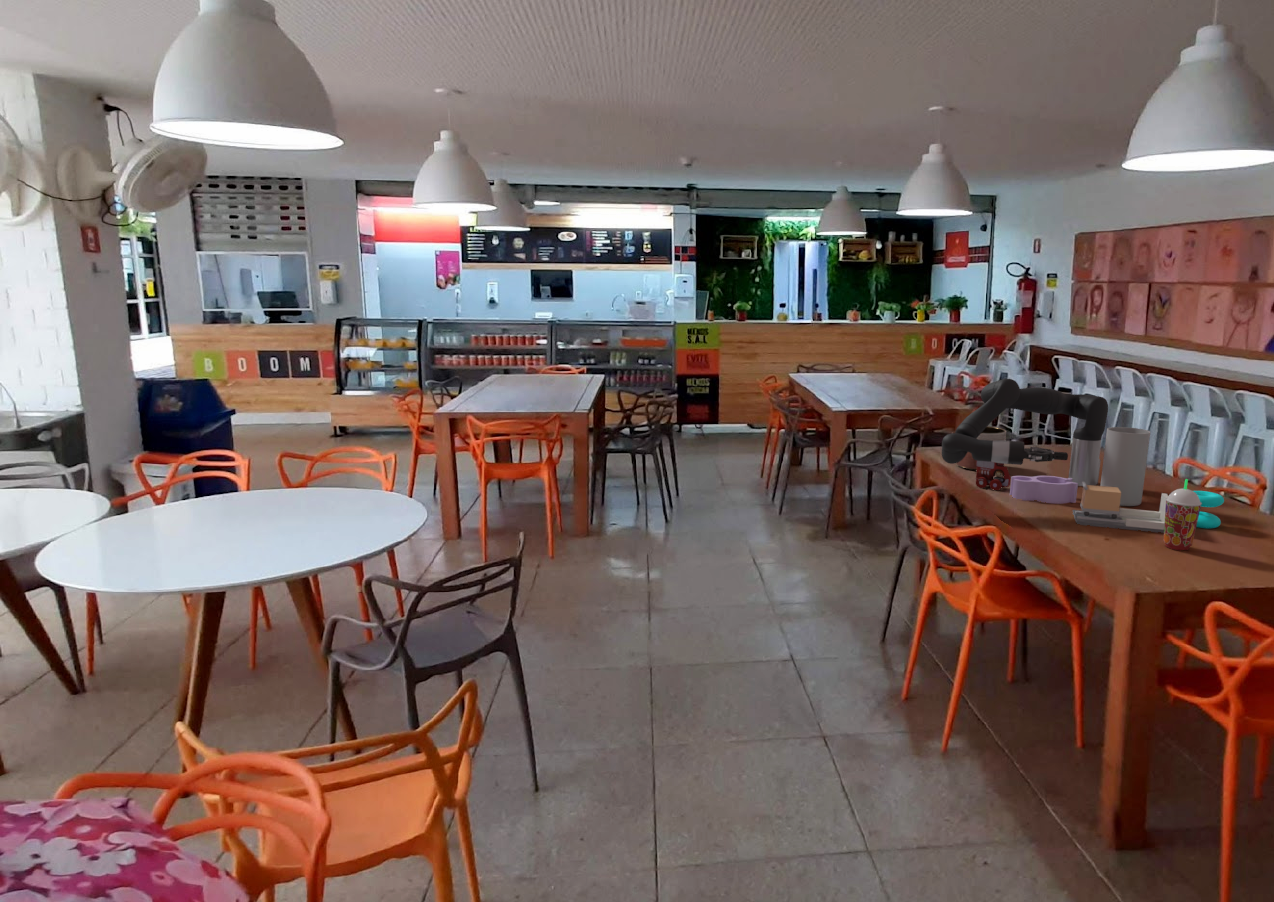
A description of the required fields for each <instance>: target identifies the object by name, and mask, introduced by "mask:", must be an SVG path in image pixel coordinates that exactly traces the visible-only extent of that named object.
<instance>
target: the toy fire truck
mask: <svg viewBox="0 0 1274 902" xmlns="http://www.w3.org/2000/svg"><path fill="white" fill-rule="evenodd" d="M976 466H977V471H976V472H975V474H976V475H975V485H976V488H979V489H984V488H986V487H988V486H987V485H989V488H990V489H991V490H992V489H994V490H997V491H1000V490H1001V489H1002V488H1001V487H1004V488H1008V487H1009V488H1010V487H1011V477H1012V476H1011V474H1010V472H1009V470H1008V467H1007V466H1005V464H1003V463H996V462H987V461H976ZM997 469H999V470H997ZM996 470H997V471H996ZM994 490H993V491H994Z"/></svg>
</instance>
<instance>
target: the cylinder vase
mask: <svg viewBox="0 0 1274 902" xmlns="http://www.w3.org/2000/svg"><path fill="white" fill-rule="evenodd" d="M1105 436H1106V437H1105V444H1104V452H1103V460H1102V461H1103V462H1102V469H1101V476H1100V477H1101V478H1100V479H1101V480H1100V485H1099V486H1106V487H1118V488H1119V490H1120V492H1121V499H1120V507H1137V506H1140V505H1141V504H1142V501H1143V492H1144V485H1145V479H1146V478H1145V477H1146V468H1147V462H1148V454H1149V453H1148V452H1149V446H1150V439H1151V438H1150V437H1151V431H1150V430H1147V429H1144V428H1138V427H1125V426H1112V427H1107V428H1106V435H1105Z"/></svg>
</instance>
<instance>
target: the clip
mask: <svg viewBox="0 0 1274 902" xmlns="http://www.w3.org/2000/svg"><path fill="white" fill-rule="evenodd" d="M1072 480H1073V479H1072V478H1069V477H1067V478H1066V477H1063V476H1062V477H1061V476H1054V475H1034V476H1027V475H1013V476H1011V481H1010V486H1009V488H1010V489H1009V496H1010V495H1012V496H1011V498H1012V497H1013V498H1016V499H1015V500H1017V499H1022V500H1021V501H1034V500H1037V501H1036V502H1040V501H1041V502H1040V503H1045V502H1046V503H1047V504H1059V505H1060V504H1061V505H1062V504H1068V503H1071V504H1072V503H1073V504H1075V503H1077V497H1078V496H1077V493H1078V487H1079V486H1078V483H1074V482H1072ZM1013 498H1012V499H1013Z"/></svg>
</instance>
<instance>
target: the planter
mask: <svg viewBox="0 0 1274 902" xmlns="http://www.w3.org/2000/svg"><path fill="white" fill-rule="evenodd" d="M976 439H979V440H992V441H996V440H1005V441H1007V430H1006V429H1004V428H1001V427H995V426H989V425H988V426H987V427H986V428H985V429H984V430H983V432H982V433H981V434H980V435H979V436H978V437H977V438H976ZM976 461H977V460H974V459H973V457H972V454H971V453H970V452H968V453H967V454H966V456H965V457H964V458H963V459H962V460H961V461H960V462H958V463H956V465H957V466H958V467H960V468H962V469H964V468H966V469H965V470H968V469H970V470H969V471H974V470H977V466H976ZM997 470H999V469H997ZM997 470H996V471H997ZM996 471H995V472H996Z"/></svg>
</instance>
